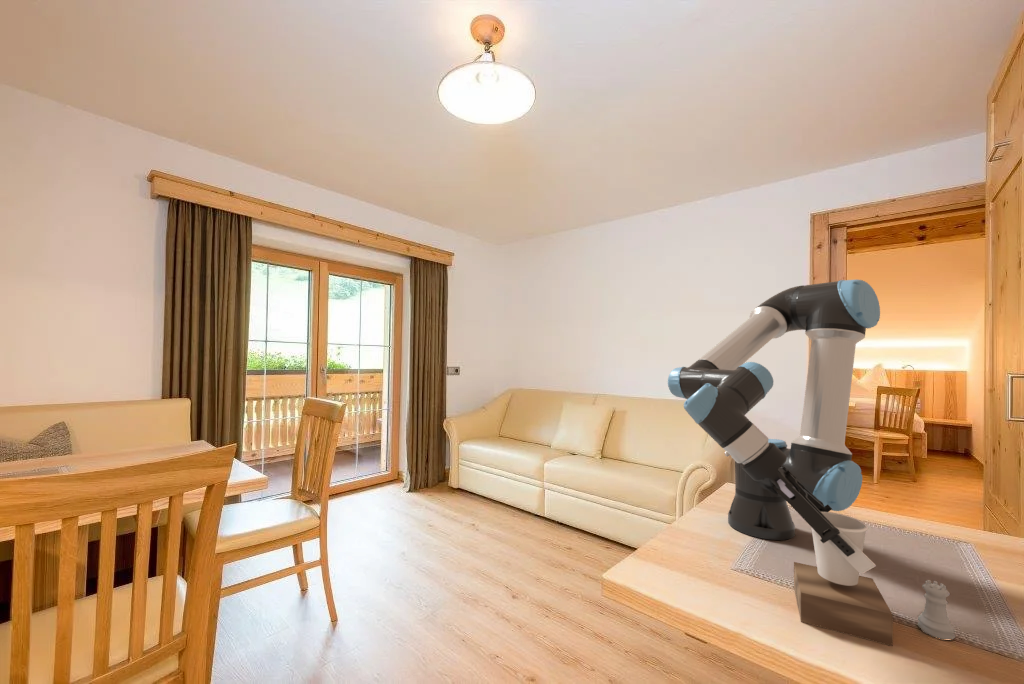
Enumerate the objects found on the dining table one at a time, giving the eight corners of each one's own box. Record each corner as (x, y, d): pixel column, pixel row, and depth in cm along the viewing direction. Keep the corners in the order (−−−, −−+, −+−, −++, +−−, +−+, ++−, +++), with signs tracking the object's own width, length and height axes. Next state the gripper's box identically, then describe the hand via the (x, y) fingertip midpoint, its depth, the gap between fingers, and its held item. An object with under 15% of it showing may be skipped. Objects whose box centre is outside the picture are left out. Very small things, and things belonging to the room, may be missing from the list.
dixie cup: (802, 574, 75) (802, 518, 75) (816, 560, 81) (816, 507, 81) (862, 596, 69) (861, 534, 69) (873, 578, 74) (872, 521, 74)
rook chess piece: (963, 643, 67) (963, 593, 67) (930, 639, 68) (930, 589, 68) (941, 626, 71) (940, 578, 72) (910, 622, 72) (910, 575, 73)
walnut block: (793, 587, 83) (793, 561, 83) (872, 606, 77) (872, 578, 77) (800, 621, 72) (800, 592, 72) (892, 646, 66) (892, 614, 66)
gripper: (739, 453, 92) (831, 545, 84) (738, 479, 73) (856, 599, 65) (768, 431, 89) (865, 523, 81) (774, 452, 71) (901, 574, 63)
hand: (861, 557), depth 73 cm, fingers closed on dixie cup, 8 cm apart
